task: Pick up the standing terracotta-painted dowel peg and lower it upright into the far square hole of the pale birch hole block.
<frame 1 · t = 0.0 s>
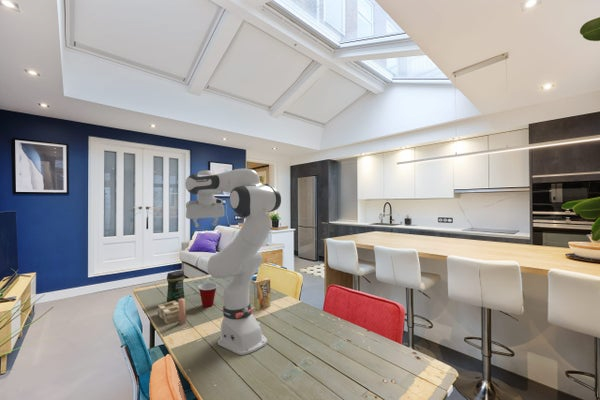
hand: (206, 226, 137), 48 cm above the table, fingers open, 8 cm apart
peg: (182, 323, 128), on the table
hole block: (171, 316, 137), on the table
coffee jar: (176, 301, 157), on the table
plastic cup: (208, 305, 150), on the table
candy box: (262, 307, 147), on the table
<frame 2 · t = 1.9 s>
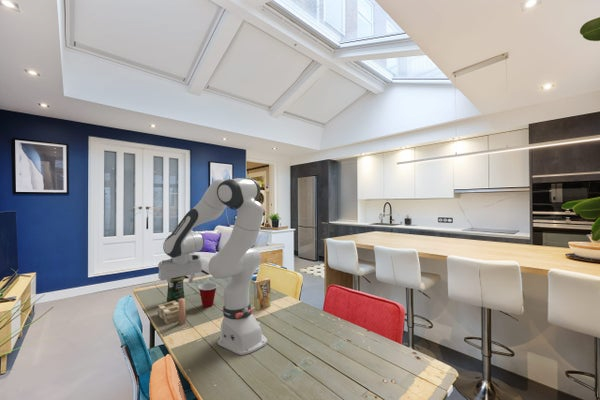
hand: (181, 284, 129), 19 cm above the table, fingers open, 8 cm apart
nothing on the table moved.
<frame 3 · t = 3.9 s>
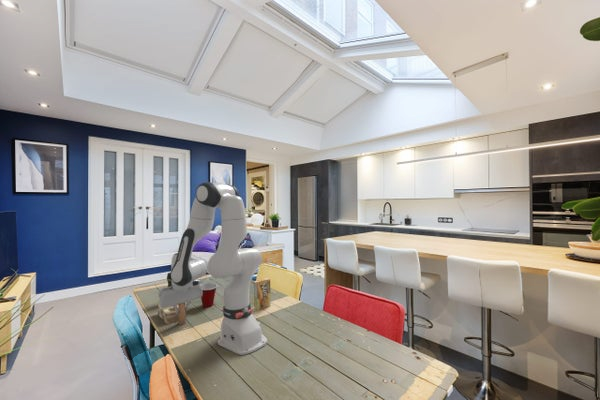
hand: (181, 311, 128), 6 cm above the table, fingers closed on peg, 3 cm apart
peg: (181, 323, 128), on the table, touching gripper
everything else where it was.
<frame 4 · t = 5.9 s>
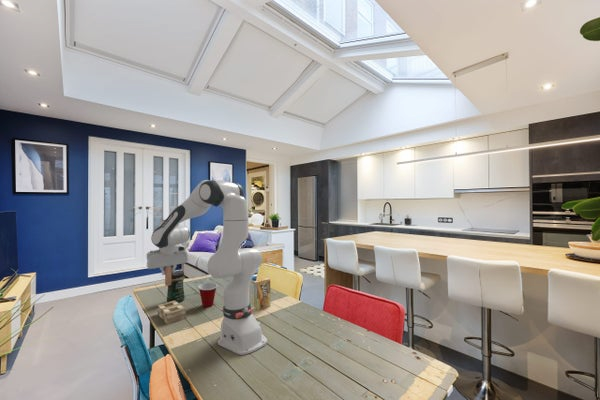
hand: (168, 273, 139), 22 cm above the table, fingers closed on peg, 3 cm apart
peg: (168, 284, 139), point 16 cm above the table, touching gripper
everything else where it was.
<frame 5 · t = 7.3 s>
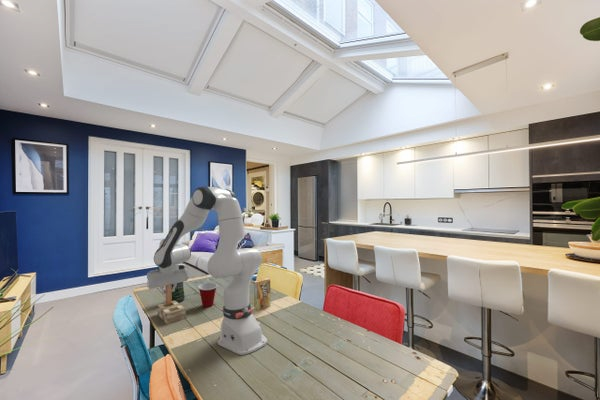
hand: (168, 292, 140), 12 cm above the table, fingers closed on peg, 3 cm apart
peg: (168, 303, 140), point 6 cm above the table, touching gripper
everything else where it was.
when the fingers open (7 cm above the table, at t = 8.4 s): peg drops 1 cm, resting in hole block.
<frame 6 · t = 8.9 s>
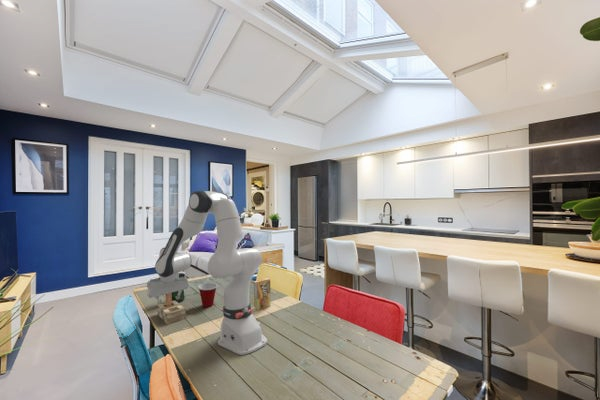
hand: (168, 301, 140), 7 cm above the table, fingers open, 8 cm apart
peg: (169, 313, 140), resting in hole block
everything else where it was.
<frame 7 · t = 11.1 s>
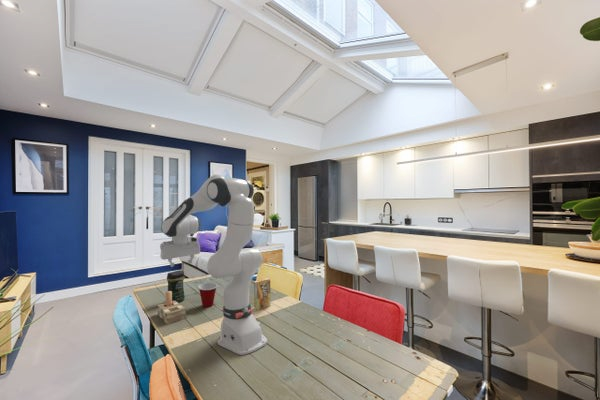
hand: (181, 264, 140), 27 cm above the table, fingers open, 8 cm apart
nothing on the table moved.
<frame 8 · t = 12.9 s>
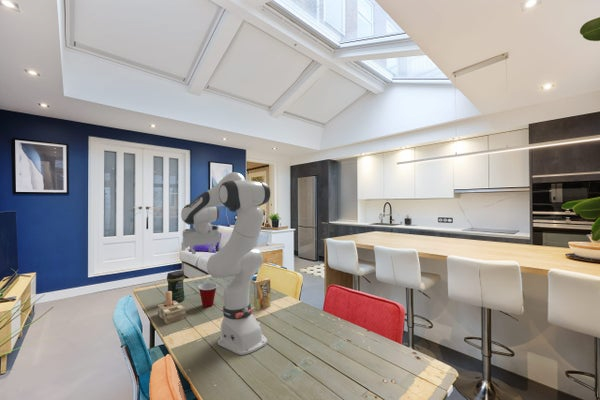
hand: (202, 252, 141), 33 cm above the table, fingers open, 8 cm apart
nothing on the table moved.
at the end: peg 0.0 cm from the target spot on the hole block, point 0.0 cm above the hole block's base; peg tilted 0°; the gripper is holding nothing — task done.
